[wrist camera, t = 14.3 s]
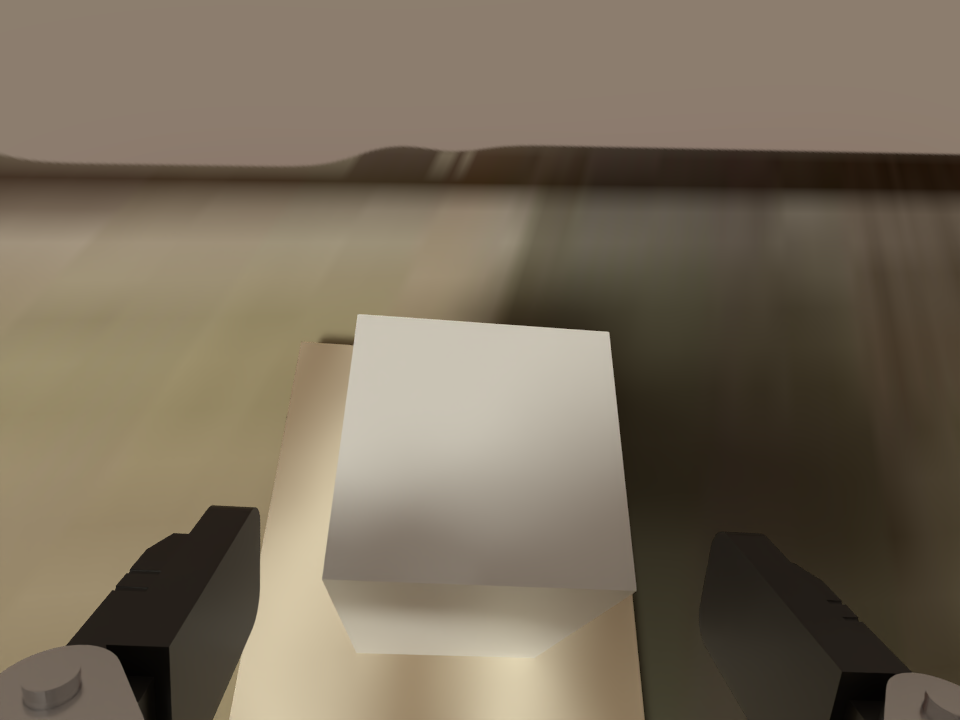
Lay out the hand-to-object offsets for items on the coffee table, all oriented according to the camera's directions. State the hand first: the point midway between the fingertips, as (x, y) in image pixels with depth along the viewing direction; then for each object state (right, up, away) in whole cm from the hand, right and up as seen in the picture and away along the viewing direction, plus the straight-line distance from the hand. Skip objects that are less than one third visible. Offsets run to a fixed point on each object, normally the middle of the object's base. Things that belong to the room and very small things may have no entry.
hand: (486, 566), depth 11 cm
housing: (-1, -3, +10) cm, 10 cm away
